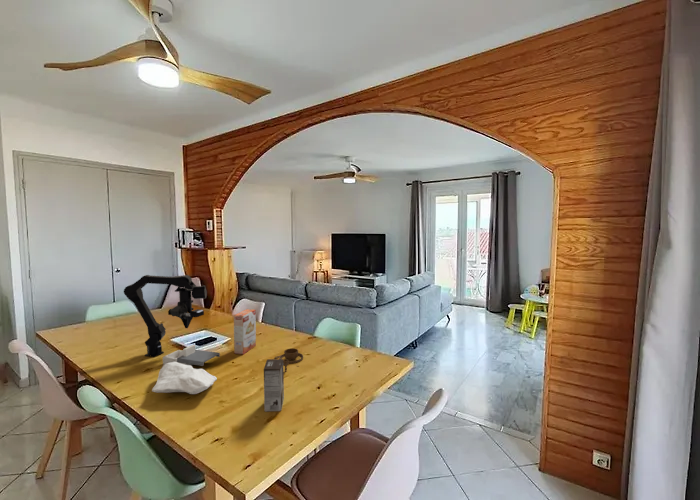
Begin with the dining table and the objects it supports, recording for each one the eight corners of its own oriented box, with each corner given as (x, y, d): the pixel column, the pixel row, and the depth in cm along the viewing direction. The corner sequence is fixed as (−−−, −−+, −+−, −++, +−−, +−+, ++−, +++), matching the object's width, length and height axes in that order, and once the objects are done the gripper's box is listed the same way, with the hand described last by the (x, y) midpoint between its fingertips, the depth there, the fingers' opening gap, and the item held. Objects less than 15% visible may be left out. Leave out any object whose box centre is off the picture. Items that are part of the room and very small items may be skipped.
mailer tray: (162, 364, 166) (162, 357, 165) (178, 356, 175) (178, 349, 175) (186, 368, 161) (185, 360, 161) (201, 360, 171) (201, 352, 171)
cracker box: (244, 354, 178) (243, 315, 176) (233, 354, 179) (232, 315, 177) (256, 345, 191) (256, 309, 190) (247, 344, 193) (246, 308, 191)
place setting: (312, 359, 173) (312, 348, 173) (287, 374, 156) (286, 362, 155) (286, 353, 182) (285, 342, 181) (258, 366, 164) (258, 355, 164)
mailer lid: (177, 362, 162) (176, 350, 161) (195, 353, 173) (194, 342, 172) (203, 365, 157) (202, 354, 157) (219, 356, 168) (219, 345, 168)
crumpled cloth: (167, 413, 120) (171, 387, 121) (134, 382, 143) (137, 360, 144) (228, 398, 138) (231, 375, 138) (190, 372, 161) (193, 353, 161)
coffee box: (267, 399, 133) (266, 359, 131) (284, 398, 133) (283, 358, 132) (263, 412, 124) (262, 369, 122) (281, 411, 124) (280, 368, 123)
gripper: (159, 301, 175) (160, 331, 176) (188, 303, 169) (189, 334, 171) (175, 297, 186) (177, 325, 187) (204, 299, 180) (205, 328, 181)
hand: (186, 328), depth 181 cm, fingers closed
